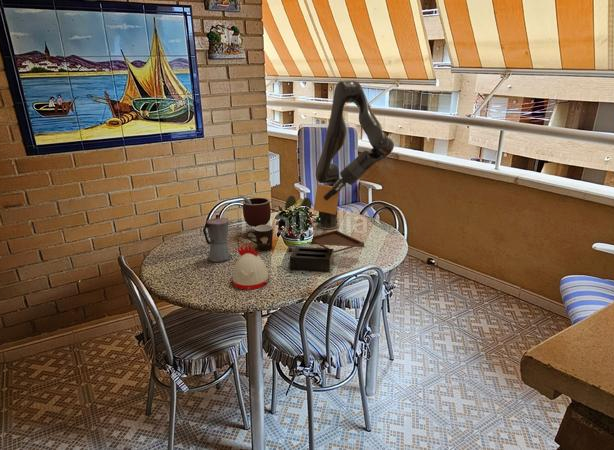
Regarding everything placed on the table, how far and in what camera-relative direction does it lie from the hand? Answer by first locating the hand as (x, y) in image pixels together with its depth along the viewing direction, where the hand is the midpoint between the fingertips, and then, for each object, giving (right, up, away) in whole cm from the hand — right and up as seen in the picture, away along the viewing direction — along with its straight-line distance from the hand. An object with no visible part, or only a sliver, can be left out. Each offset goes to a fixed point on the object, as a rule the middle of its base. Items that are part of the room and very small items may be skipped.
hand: (325, 198), depth 179 cm
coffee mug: (-29, -23, +10) cm, 38 cm away
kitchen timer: (-30, -34, -21) cm, 50 cm away
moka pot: (-46, -27, -1) cm, 54 cm away
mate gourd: (-33, -16, +29) cm, 47 cm away
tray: (+5, -21, +12) cm, 25 cm away
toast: (0, -6, +2) cm, 6 cm away
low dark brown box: (-6, -30, -12) cm, 32 cm away
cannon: (-15, -9, +49) cm, 52 cm away
